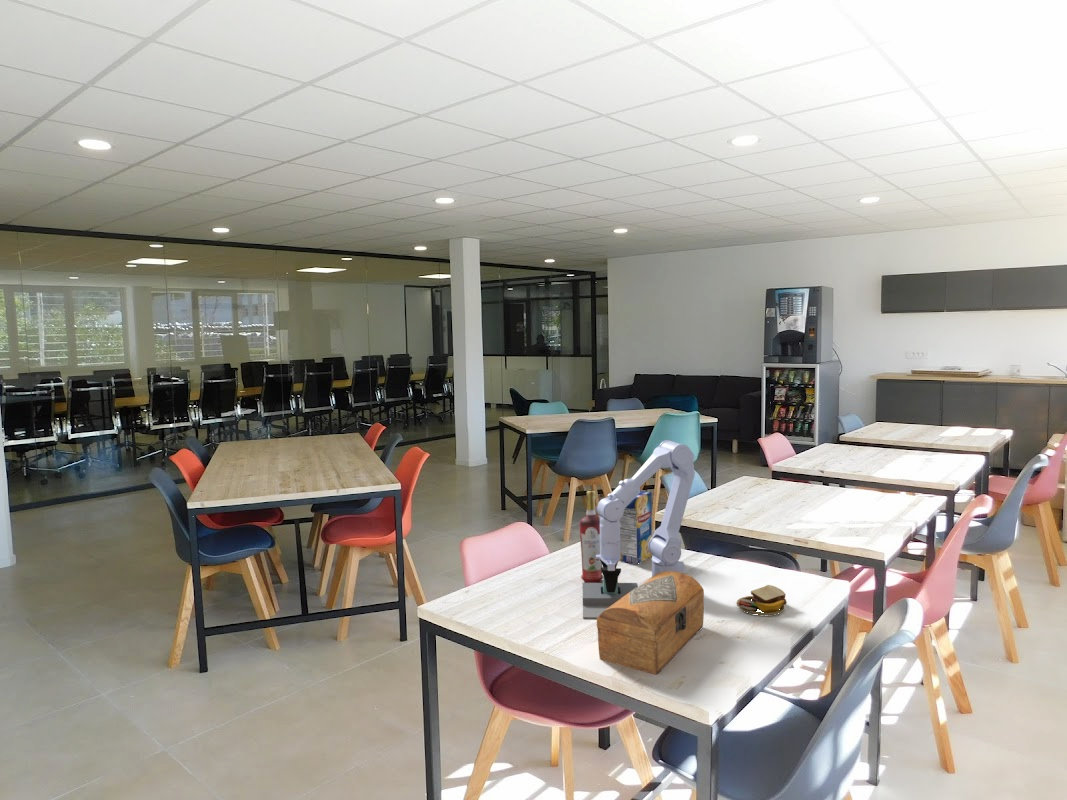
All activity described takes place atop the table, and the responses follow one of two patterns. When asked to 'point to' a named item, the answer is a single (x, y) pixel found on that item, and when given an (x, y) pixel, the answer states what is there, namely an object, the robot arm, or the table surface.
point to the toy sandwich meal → (763, 601)
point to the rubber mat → (593, 611)
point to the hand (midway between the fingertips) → (610, 587)
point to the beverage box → (636, 529)
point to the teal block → (606, 589)
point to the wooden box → (652, 622)
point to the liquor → (590, 542)
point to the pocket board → (597, 598)
